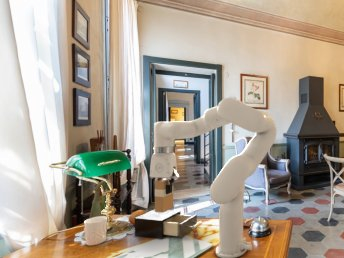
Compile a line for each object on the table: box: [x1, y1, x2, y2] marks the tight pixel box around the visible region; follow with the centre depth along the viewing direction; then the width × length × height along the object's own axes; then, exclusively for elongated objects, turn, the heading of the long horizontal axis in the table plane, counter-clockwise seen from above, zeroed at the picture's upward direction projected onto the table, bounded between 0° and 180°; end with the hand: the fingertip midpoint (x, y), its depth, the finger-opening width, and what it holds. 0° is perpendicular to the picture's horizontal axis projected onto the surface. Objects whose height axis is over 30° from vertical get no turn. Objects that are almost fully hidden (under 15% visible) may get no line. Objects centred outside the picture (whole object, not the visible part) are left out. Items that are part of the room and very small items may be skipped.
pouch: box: [88, 178, 108, 222], centre depth 115 cm, size 11×12×25 cm
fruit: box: [128, 209, 147, 226], centre depth 123 cm, size 8×8×8 cm
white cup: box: [83, 216, 108, 246], centre depth 103 cm, size 8×8×10 cm
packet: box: [154, 178, 174, 213], centre depth 100 cm, size 4×6×13 cm
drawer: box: [163, 214, 203, 239], centre depth 111 cm, size 18×12×6 cm, turn 78°
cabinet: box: [134, 208, 182, 240], centre depth 114 cm, size 15×13×8 cm
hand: (164, 192), depth 100 cm, fingers closed on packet, 4 cm apart
